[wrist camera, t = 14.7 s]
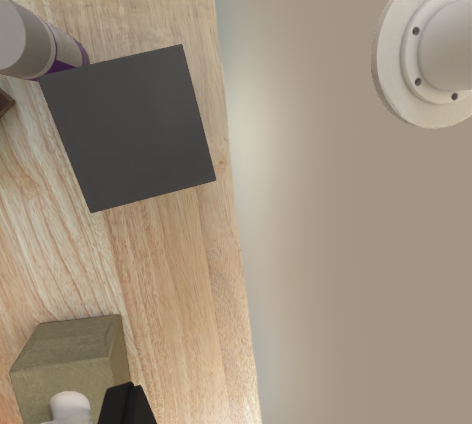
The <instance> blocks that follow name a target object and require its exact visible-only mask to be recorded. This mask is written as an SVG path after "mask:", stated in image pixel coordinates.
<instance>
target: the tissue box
mask: <svg viewBox="0 0 472 424" xmlns="http://www.w3.org/2000/svg"><path fill="white" fill-rule="evenodd" d="M9 374H10V378H11V382H12V385H13V389H14V392H15V396H16V399H17V403H18V406H19V410H20V413H21V417H22V420H23V424H97V423H98V419H99V415H100V411H101V407H102V403H103V399H104V396H105V392H106V390H107V389H108V388H110V387H113V386H117V385H120V384H123V383H127V382H131V380H130V373H129V367H128V360H127V353H126V347H125V340H124V333H123V327H122V320H121V316H120V315H112V316H103V317H95V318H86V319H77V320H69V321H60V322H51V323H43V324H39V325H38V326H37V328H36V329H35V331H34V333H33V334H32V336H31V337H30V339H29V341H28V342H27V344H26V345H25V347H24V349H23V350H22V352H21V353H20V355H19V357H18V358H17V360H16V361H15V363H14V364H13V366H12V368H11V369H10V371H9Z"/></svg>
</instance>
